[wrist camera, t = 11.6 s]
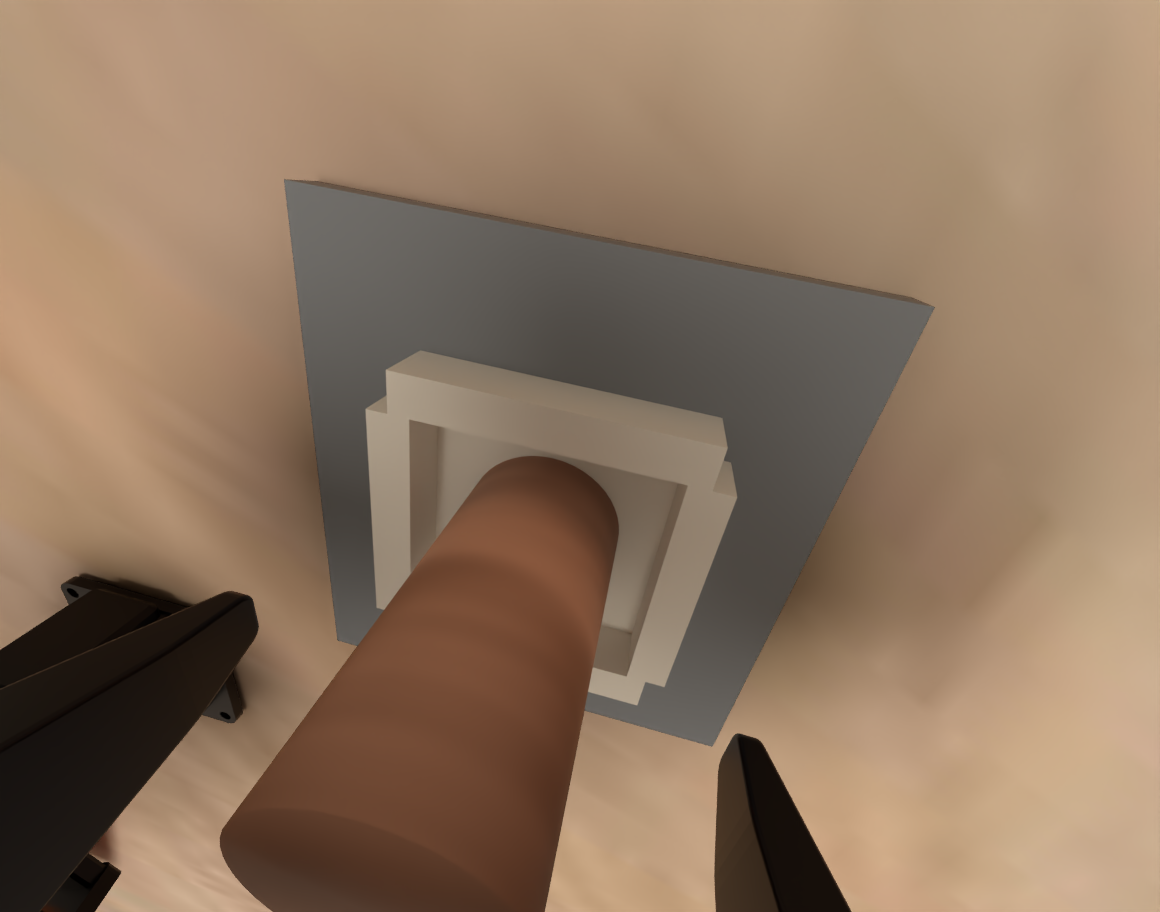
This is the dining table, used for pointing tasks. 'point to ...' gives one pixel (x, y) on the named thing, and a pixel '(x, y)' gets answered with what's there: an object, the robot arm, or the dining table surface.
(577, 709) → the terracotta pin
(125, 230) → the dining table surface
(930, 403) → the dining table surface
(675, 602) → the board
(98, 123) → the dining table surface
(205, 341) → the dining table surface
